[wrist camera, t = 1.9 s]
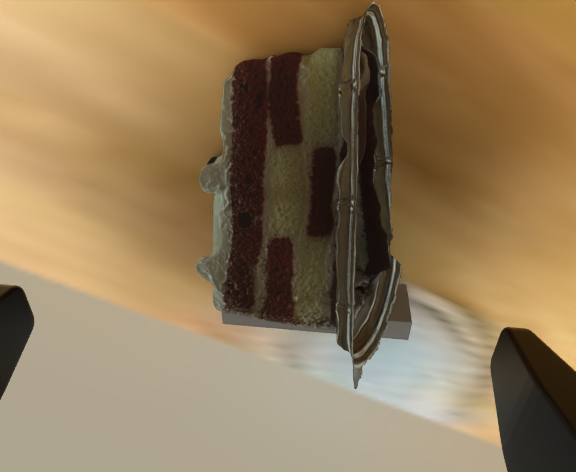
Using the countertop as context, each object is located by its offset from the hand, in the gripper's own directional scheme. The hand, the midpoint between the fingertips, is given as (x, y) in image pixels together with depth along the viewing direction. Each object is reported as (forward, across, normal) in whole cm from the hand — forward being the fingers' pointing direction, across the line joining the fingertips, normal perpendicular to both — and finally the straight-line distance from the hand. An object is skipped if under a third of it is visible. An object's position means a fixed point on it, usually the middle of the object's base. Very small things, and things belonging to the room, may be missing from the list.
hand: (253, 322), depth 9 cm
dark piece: (+14, 0, -2) cm, 14 cm away
